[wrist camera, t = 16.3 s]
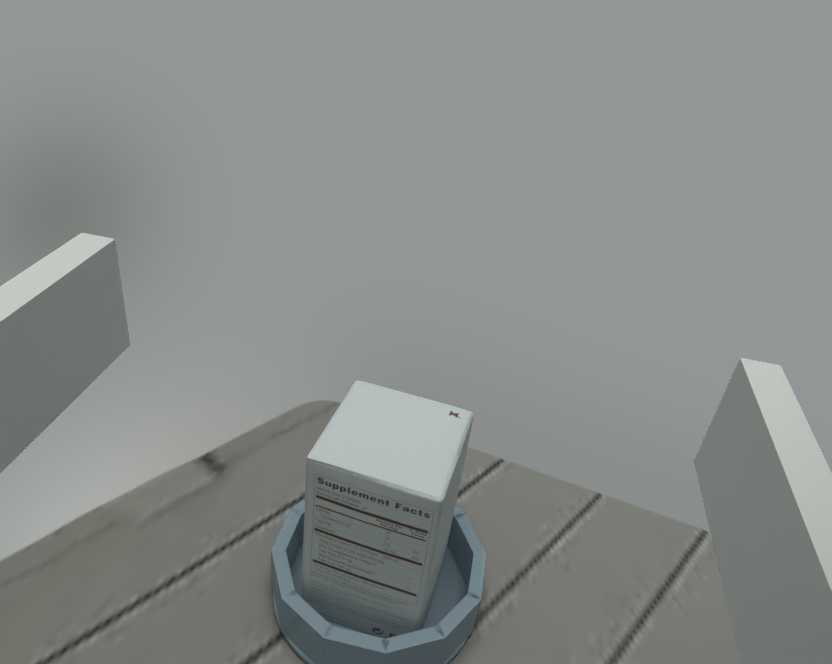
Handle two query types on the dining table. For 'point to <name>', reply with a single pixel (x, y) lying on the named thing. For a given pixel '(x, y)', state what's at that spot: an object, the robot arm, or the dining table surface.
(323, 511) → the supplement box
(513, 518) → the dining table surface
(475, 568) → the bowl
